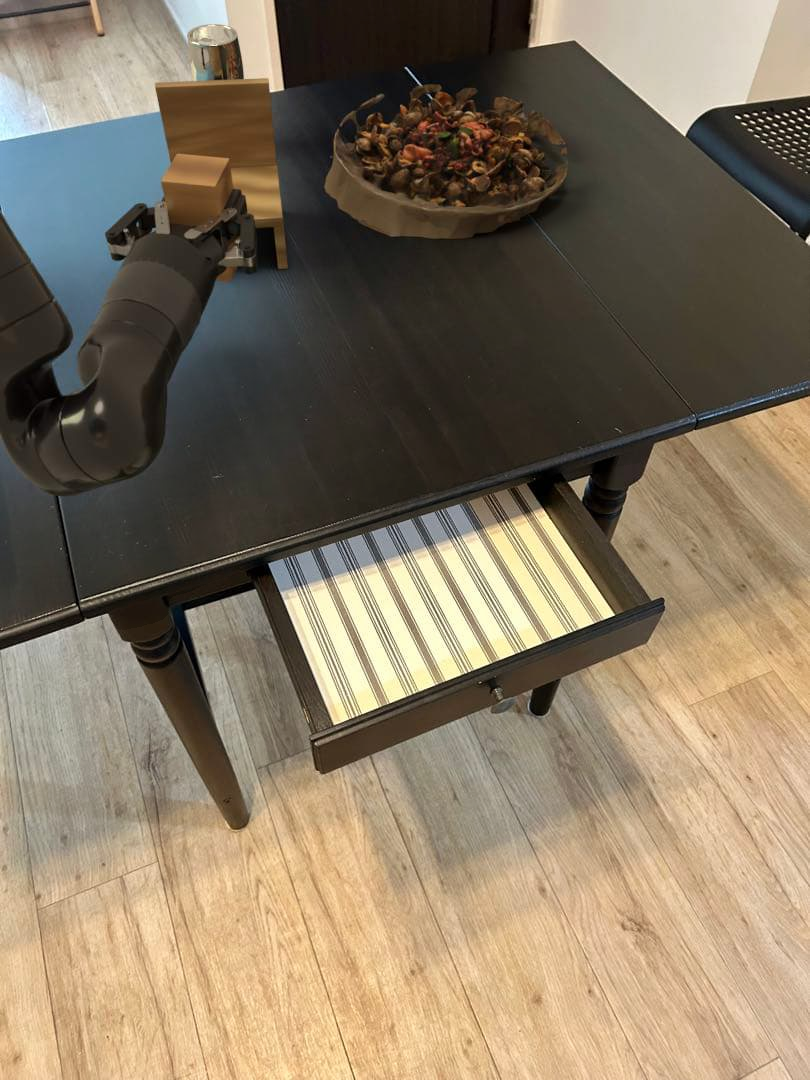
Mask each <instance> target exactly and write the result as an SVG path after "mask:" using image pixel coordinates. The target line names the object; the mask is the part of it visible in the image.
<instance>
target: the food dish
mask: <svg viewBox="0 0 810 1080" xmlns="http://www.w3.org/2000/svg"><path fill="white" fill-rule="evenodd" d="M442 89H443V88H442V86H441V85H440V84H424V85H416V86H415V87H414V88H413V89H412V91H410V92H409V93H410V102H409V103H408V109H407V108H406V107H405V106H404V105H403V104H400V105H399V113H397V114H396V115H395V117H394V119H393V120H392V121H391V122H390V123H388V124H386V123H384V121H383V120H384V119H383V115H382V114H381V113H380V112H374V113H372V114H370V115H368V117H367V118H366V121H365V124H364V125H361V126H360V125H359V122H358V120H357V113H358V111H360V110H361V109H365V110H366V109H367V110H368V109H369V108H370V107H371V106H372V105H373V106H374V105H376V104H377V103H379V102H380V101H381V100H382V99H383V98H384V97H385V95H384V94H383V93H380V94H376V96H375V97H372V98H371V99H368V100H366V101H365V102H363V103H362V104H361V105H360V106H359V107H358V109H357V110H352V111H350V112H349V113H348V114H347V115H346V116H345V117H344V118H343V119H342V120H341V121H340V124H339V127H342V126H344V125H343V124H344V123H345V122H347V121H348V120H351V121H352V122H353V124H355V125H356V135H355V136H354V143H351V142H347V143H345V142H344V141H343V140H342V137H341V135H340V129H339V128H337V130H336V132H335V134H334V138H333V155H330V159H332V158H333V159H332V165H331V167H330V169H329V171H328V173H327V175H326V176H325V182H324V186H323V188H324V190H325V193H326V194H328V195H329V197H331V198H332V199H334V200H336V203H337V207H338V209H340V210H341V211H342V212H344V213H346V214H348V215H349V216H350V217H351V218H352V219H354V220H356V221H357V222H358V224H360V225H363V226H364V227H368V228H369V229H372V230H373V231H376V232H377V233H381V234H383V235H386V236H388V237H390V238H394V237H413V238H414V237H416V238H417V237H418V238H425V239H434V240H438V239H439V240H440V239H445V240H453V239H454V240H455V239H458V240H459V239H470V238H472V237H474V235H475V234H486V233H491V232H492V233H493V232H494V231H495V230H497V229H498V228H499V227H501V226H504V225H505V224H511V223H513V222H517V221H520V220H521V218H523V217H525V216H526V215H528V214H531V213H534V212H536V211H537V210H538V208H539V206H540V204H541V203H542V202H543V201H544V200H545V199H547V198H548V197H550V196H551V195H552V194H554V193H556V192H557V190H558V189H559V188H560V187H561V185H562V184H564V181H565V179H566V178H567V177H568V170H569V169H568V167H569V161H568V159H565V162H564V163H563V164H560V165H559V166H558V167H556V168H555V172H556V175H555V176H554V177H553V178H552V179H551V180H549V181H547V180H548V179H549V177H550V176H551V174H552V169H551V167H549V165H544V164H545V159H546V156H545V152H544V151H542V152H541V153H539V152H538V149H537V148H536V147H533V141H532V140H531V139H532V137H534V136H536V135H537V134H538V132H539V136H541V137H545V138H547V140H548V143H549V144H550V145H551V146H555V147H557V146H558V147H561V146H563V145H566V142H565V141H564V139H563V138H562V136H561V134H560V133H559V132H558V131H557V129H556V128H554V126H553V125H552V124H551V123H550V122H549V120H547V119H545V118H544V117H543V114H542V111H541V112H540V111H537V110H536V109H532V110H531V111H529V112H528V115H527V117H526V116H525V111H524V110H525V107H524V102H523V99H522V98H520V101H519V102H516V101H515V100H513V99H510V98H507V97H505V96H497V97H495V99H494V102H493V107H494V109H495V110H492V109H490V110H486V111H485V112H483V113H482V112H479V111H477V109H476V103H475V102H474V100H473V99H472V100H471V98H473V97H474V96H475V95H476V94H478V93H479V90H478V89H477V88H476V87H465V88H463V89H462V90H461V91H459V92H457V93H455V99H456V103H455V100H454V98H453V96H451V95H449V94H448V93H447V92H443V91H442ZM432 92H433V93H436V94H435V96H434V98H431V100H430V102H428V104H427V106H425V107H423V105H424V103H422V101H421V100H420V99H419V98H420V97H421V96H422V95H424V94H425V95H430V94H431V93H432ZM507 120H508V121H507ZM535 134H536V135H535ZM567 154H568V149H567V147H563V148H562V149H561V152H560V155H561V156H564V155H567ZM545 170H549V171H545ZM546 181H547V182H546Z"/></svg>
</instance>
